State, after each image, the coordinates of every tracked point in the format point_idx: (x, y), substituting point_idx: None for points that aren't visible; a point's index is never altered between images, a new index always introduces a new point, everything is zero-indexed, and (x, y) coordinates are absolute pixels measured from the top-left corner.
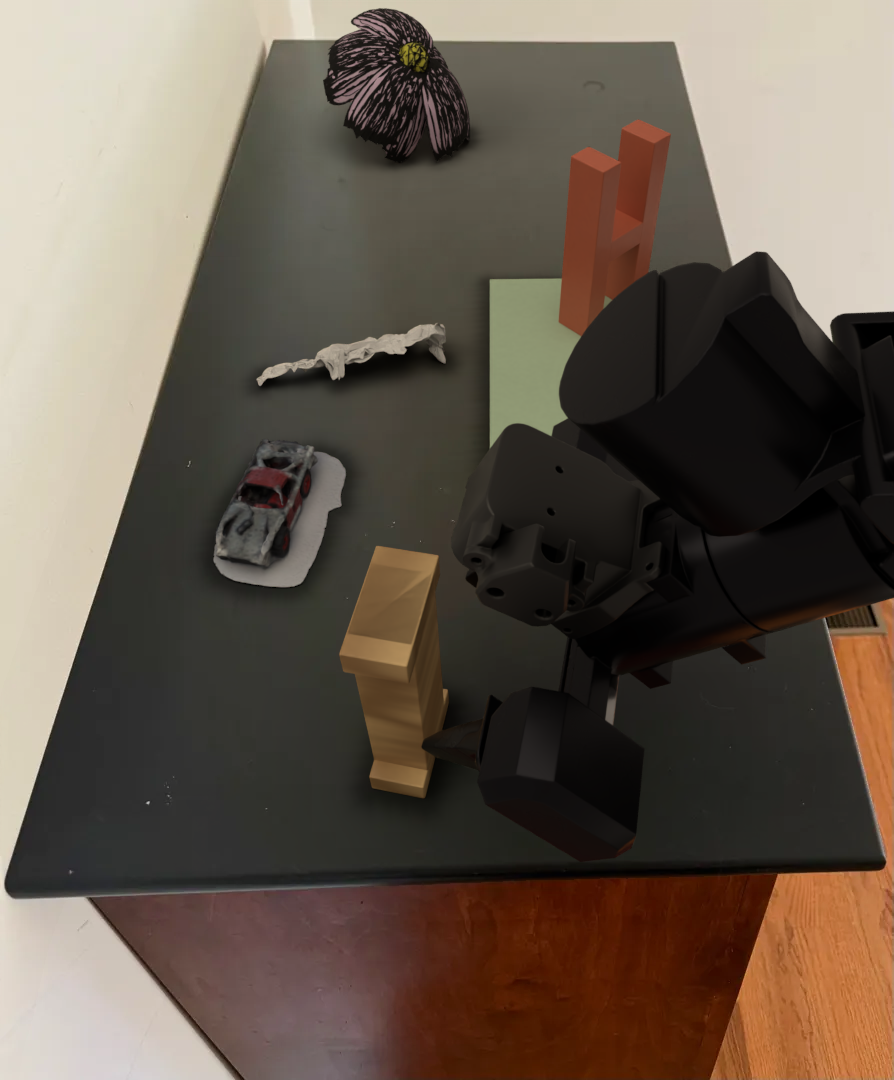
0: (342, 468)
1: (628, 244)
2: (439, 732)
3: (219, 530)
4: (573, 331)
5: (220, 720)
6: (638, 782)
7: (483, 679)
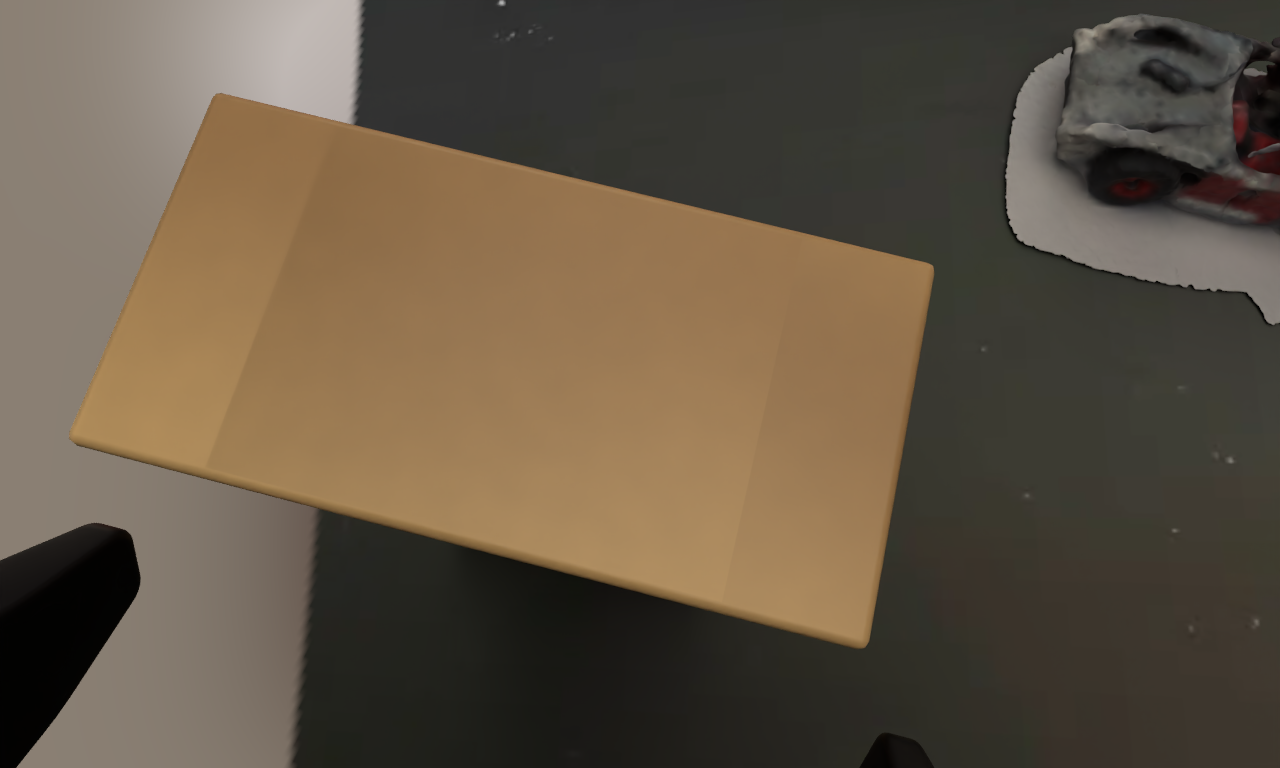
0: None
1: None
2: (6, 603)
3: (1147, 18)
4: None
5: (668, 107)
6: None
7: (756, 685)
